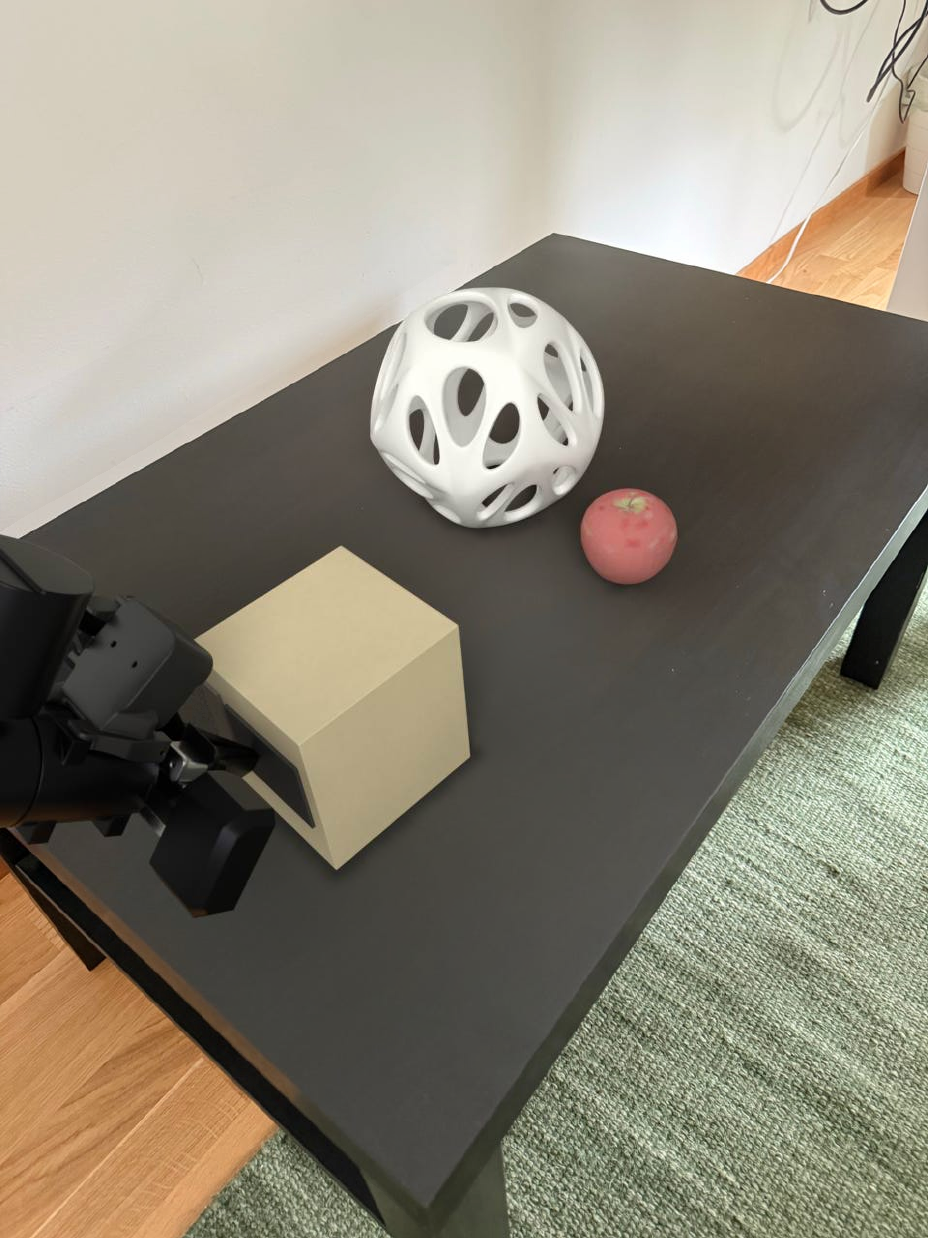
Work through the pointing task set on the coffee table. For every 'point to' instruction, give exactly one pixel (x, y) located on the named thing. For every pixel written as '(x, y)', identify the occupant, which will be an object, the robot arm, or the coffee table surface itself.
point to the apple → (628, 535)
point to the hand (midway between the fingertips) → (253, 759)
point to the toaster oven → (340, 699)
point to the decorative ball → (488, 407)
